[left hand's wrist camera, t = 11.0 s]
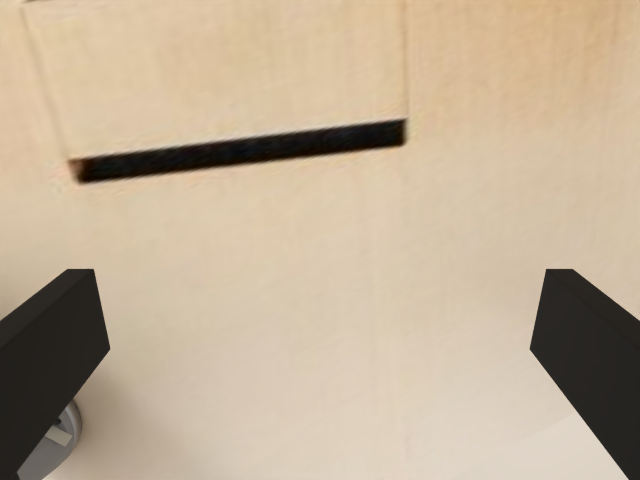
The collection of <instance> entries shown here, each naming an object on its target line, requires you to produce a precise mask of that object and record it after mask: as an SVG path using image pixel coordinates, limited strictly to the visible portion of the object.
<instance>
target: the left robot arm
mask: <svg viewBox="0 0 640 480" xmlns="http://www.w3.org/2000/svg"><path fill="white" fill-rule="evenodd" d="M109 350H110V345H109V340H108V335H107V330H106V326H105V321H104V316H103V311H102V306H101V302H100V297H99V292H98V287H97V282H96V278H95V273H94V269H67V270H65V271H64V272H63V273H62V274H60V275H59V276H58V277H56V278H55V279H54V280H53V281H51V282H50V283H49V284H47V285H46V286H45V287H44V288H42V289H41V290H40V291H38V292H37V293H36V294H34V295H33V296H32V297H31V298H29V299H28V300H27V301H25V302H24V303H23V304H22V305H20V306H19V307H18V308H16V309H15V310H14V311H13V312H11V313H10V314H9V315H7V316H6V317H5V318H4V319H2V320H1V321H0V480H42V479H43V478H44V477H46V476H47V475H48V474H49V473H51V472H52V471H53V470H54V469H55V468H57V467H58V466H59V465H60V464H61V463H62V462H63V461H64V460H65V459H66V458H67V457H68V456H69V454H70V453H71V451H72V450H73V448H74V447H75V445H76V443H77V442H78V440H79V437H80V433H81V418H80V415H79V412H78V409H77V407H76V405H75V403H74V402H73V400H72V399H73V398H74V396H75V395H76V394H77V392H78V391H79V390H80V388H81V387H82V386H83V384H84V383H85V382H86V380H87V379H88V378H89V377H90V375H91V374H92V373H93V371H94V370H95V369H96V367H97V366H98V365H99V363H100V362H101V361H102V359H103V358H104V357H105V355H106V354H107V353H108V352H109ZM530 350H531V352H532V353H533V354H534V355H535V357H536V358H537V359H538V361H539V362H540V363H541V365H542V366H543V367H544V369H545V370H546V371H547V373H548V374H549V375H550V377H551V378H552V379H553V380H554V382H555V383H556V384H557V386H558V387H559V388H560V390H561V391H562V392H563V394H564V395H565V396H566V398H567V399H568V400H569V402H570V403H571V404H572V405H573V407H574V408H575V409H576V411H577V412H578V413H579V415H580V416H581V417H582V419H583V420H584V421H585V423H586V424H587V425H588V427H589V428H590V429H591V430H592V432H593V433H594V434H595V436H596V437H597V438H598V440H599V441H600V442H601V444H602V445H603V446H604V448H605V449H606V450H607V452H608V453H609V454H610V455H611V457H612V458H613V459H614V461H615V462H616V463H617V465H618V466H619V467H620V469H621V470H622V471H623V473H624V474H625V475H626V477H627V478H628V479H629V480H640V321H639V320H638V319H636V318H635V317H634V316H633V315H631V314H630V313H629V312H627V311H626V310H625V309H624V308H622V307H621V306H620V305H618V304H617V303H616V302H615V301H613V300H612V299H611V298H609V297H608V296H607V295H606V294H604V293H603V292H602V291H600V290H599V289H598V288H596V287H595V286H594V285H593V284H591V283H590V282H589V281H587V280H586V279H585V278H584V277H582V276H581V275H580V274H578V273H577V272H576V271H575V270H573V269H546V273H545V278H544V282H543V287H542V292H541V297H540V302H539V306H538V311H537V316H536V321H535V326H534V330H533V335H532V340H531V345H530Z"/></svg>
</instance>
